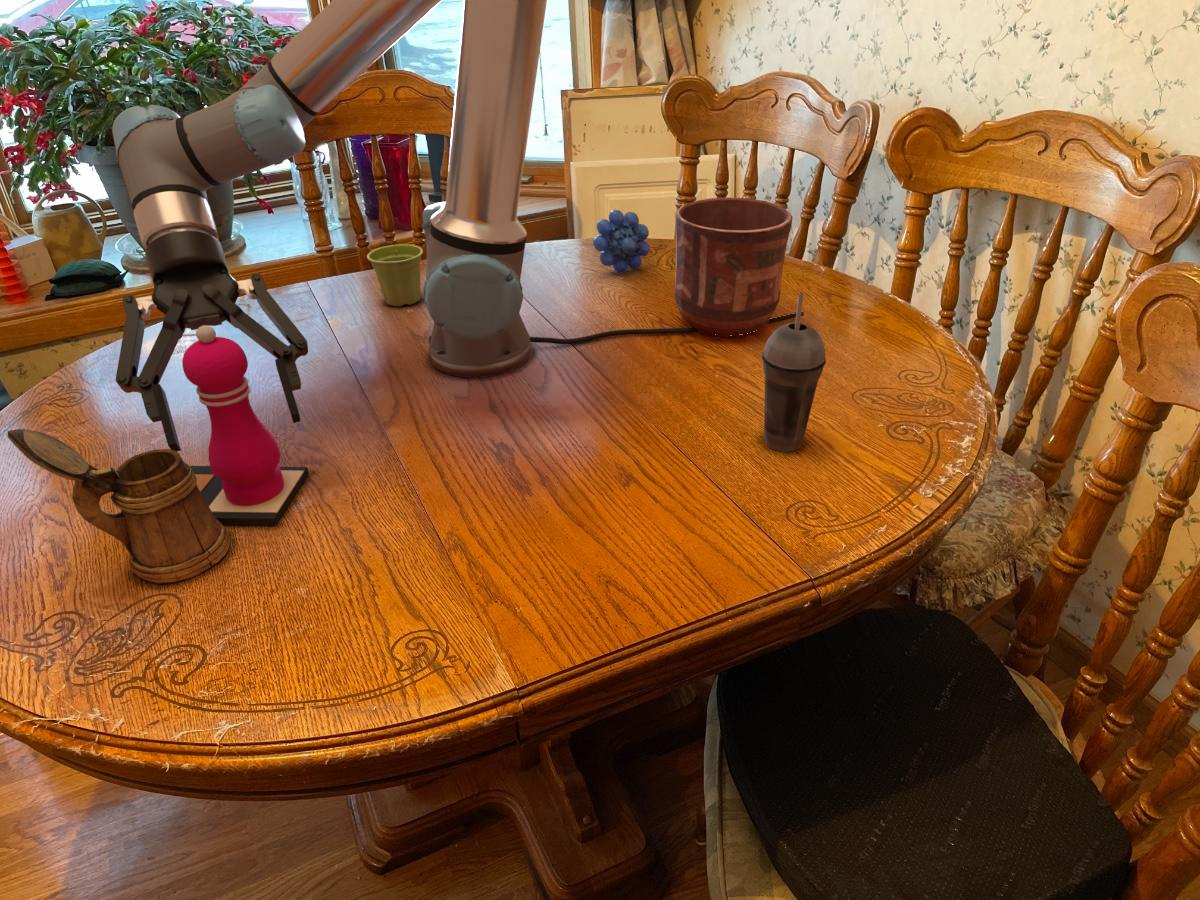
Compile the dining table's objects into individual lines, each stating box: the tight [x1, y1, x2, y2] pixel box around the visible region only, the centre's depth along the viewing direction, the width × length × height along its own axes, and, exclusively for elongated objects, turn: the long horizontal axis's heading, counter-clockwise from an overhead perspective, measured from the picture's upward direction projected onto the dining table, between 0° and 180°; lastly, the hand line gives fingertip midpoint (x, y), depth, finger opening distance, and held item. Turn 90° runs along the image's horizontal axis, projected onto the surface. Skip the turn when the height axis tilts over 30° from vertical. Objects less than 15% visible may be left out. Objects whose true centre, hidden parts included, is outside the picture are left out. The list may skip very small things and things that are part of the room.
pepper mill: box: [181, 325, 284, 506], centre depth 83 cm, size 7×7×20 cm
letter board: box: [189, 465, 310, 527], centre depth 88 cm, size 15×10×1 cm, turn 87°
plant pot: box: [366, 243, 424, 307], centre depth 136 cm, size 9×9×9 cm
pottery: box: [674, 196, 793, 340], centre depth 122 cm, size 18×18×18 cm
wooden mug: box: [7, 428, 231, 585], centre depth 75 cm, size 9×14×18 cm, turn 122°
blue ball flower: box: [592, 209, 651, 274], centre depth 144 cm, size 12×7×12 cm, turn 116°
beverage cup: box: [761, 290, 827, 453], centre depth 91 cm, size 7×7×20 cm
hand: (237, 433), depth 81 cm, fingers open, 11 cm apart
